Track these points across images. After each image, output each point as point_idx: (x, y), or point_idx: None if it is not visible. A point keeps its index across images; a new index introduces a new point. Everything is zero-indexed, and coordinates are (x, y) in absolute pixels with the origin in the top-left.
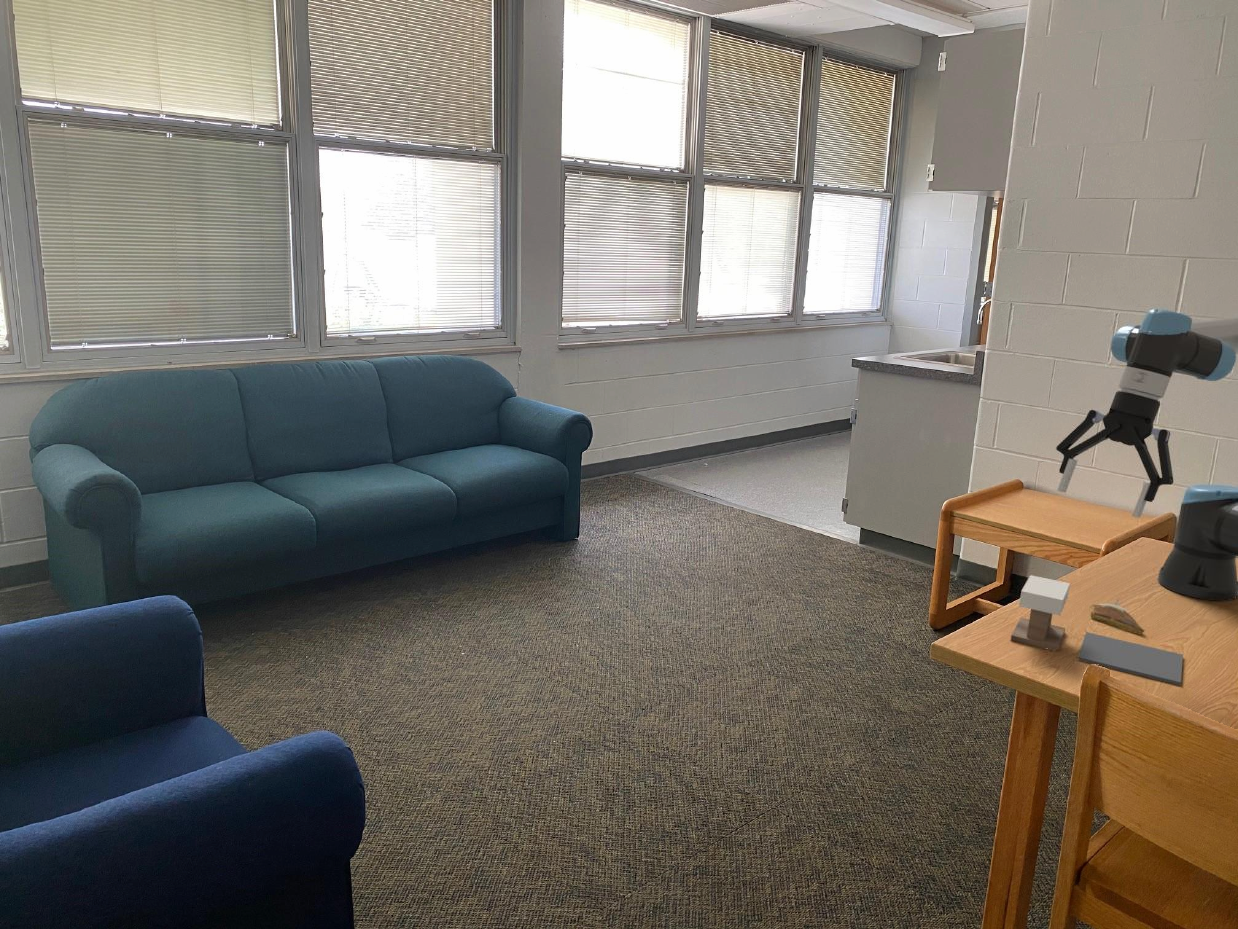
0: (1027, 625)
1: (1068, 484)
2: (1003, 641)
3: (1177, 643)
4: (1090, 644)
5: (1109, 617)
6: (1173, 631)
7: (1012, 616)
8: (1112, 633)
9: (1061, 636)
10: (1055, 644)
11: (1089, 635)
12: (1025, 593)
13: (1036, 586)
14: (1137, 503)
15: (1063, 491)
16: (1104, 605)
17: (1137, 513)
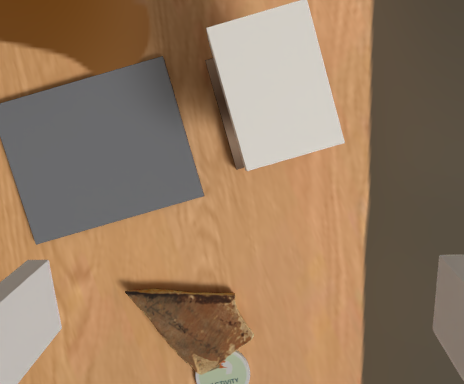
0: None
1: (452, 357)
2: None
3: (71, 307)
4: (171, 139)
5: (199, 301)
6: (99, 363)
7: (344, 163)
8: (173, 250)
9: (222, 118)
10: (213, 67)
11: (192, 183)
12: (295, 2)
13: (295, 69)
14: (2, 297)
15: (438, 291)
16: (240, 378)
17: (16, 270)
